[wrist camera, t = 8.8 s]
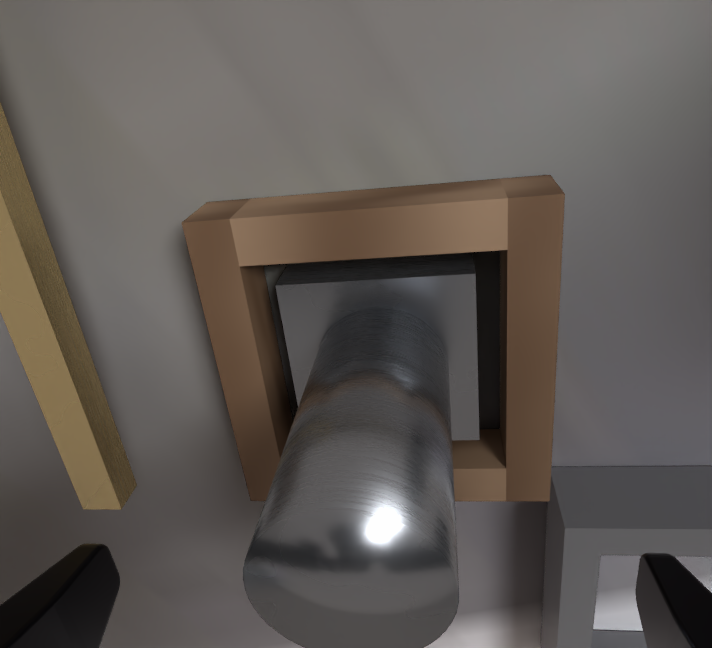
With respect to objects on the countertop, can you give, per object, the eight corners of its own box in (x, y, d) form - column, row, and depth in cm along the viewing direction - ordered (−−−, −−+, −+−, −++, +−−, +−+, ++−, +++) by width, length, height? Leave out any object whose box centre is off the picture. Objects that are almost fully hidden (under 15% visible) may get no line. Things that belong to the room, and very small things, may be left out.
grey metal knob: (472, 252, 16) (508, 468, 8) (476, 408, 18) (508, 693, 10) (288, 263, 16) (164, 472, 9) (314, 412, 18) (232, 680, 11)
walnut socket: (550, 174, 14) (565, 193, 13) (539, 459, 18) (549, 501, 17) (207, 202, 16) (181, 222, 14) (265, 462, 20) (250, 501, 18)
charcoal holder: (858, 464, 17) (921, 531, 15) (792, 655, 21) (835, 730, 19) (549, 467, 18) (565, 527, 16) (540, 645, 22) (552, 715, 20)
